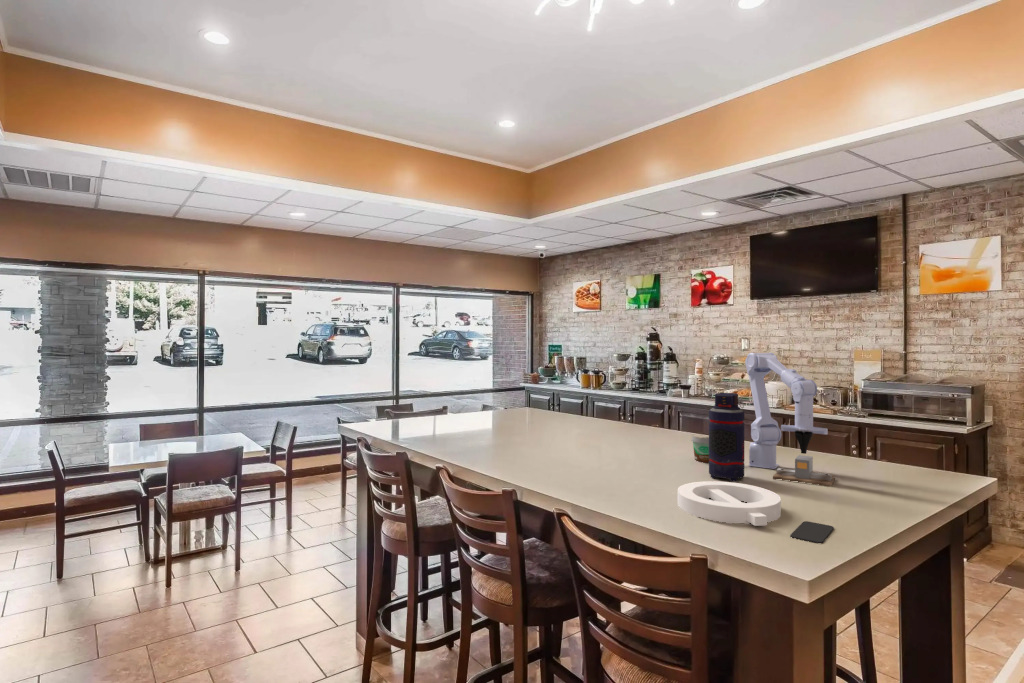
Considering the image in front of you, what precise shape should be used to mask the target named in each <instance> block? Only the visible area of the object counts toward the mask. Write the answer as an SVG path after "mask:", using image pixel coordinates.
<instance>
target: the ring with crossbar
mask: <svg viewBox="0 0 1024 683" xmlns="http://www.w3.org/2000/svg"><path fill="white" fill-rule="evenodd" d="M709 498H711V499H709ZM781 498H782V497H780V495H779V494H777V492H776V493H775V492H774V491H772V490H769V489H766V488H763V487H760V486H756V485H752V484H746V483H741V482H740V483H738V482H733V481H730V482H729V481H714V480H712V481H705V480H704V481H695V482H693V481H692V482H688V483H685V484H681V485H680V486H678V488H677V507H678V506H679V507H680V508H681V509H682V510H684V511H686V512H687V513H690V514H692V515H695V516H697V517H696V518H698V517H701V518H700V519H702V518H704V519H703V520H706V519H709V520H708V521H710V520H713V521H712V522H716V521H719V522H718V523H722V522H726V523H725V524H732V523H747V524H746V525H749V524H748V523H751V524H750V525H753V526H756V527H757V526H758V527H760V526H768V523H772V522H774V520H775V521H777V520H779V519H780V518H781V513H782V511H781V509H782V507H781V506H782V505H781V504H782V502H781V501H782V499H781ZM741 501H744V502H741ZM745 502H747V503H745ZM679 507H678V508H679ZM680 508H679V509H680ZM681 509H680V510H681ZM682 510H681V511H682ZM684 511H683V512H684ZM687 513H686V514H687ZM690 514H689V515H690ZM692 515H691V516H692ZM695 516H694V517H695ZM779 517H780V518H779ZM778 518H779V519H778ZM771 521H772V522H771ZM767 522H768V523H767Z"/></svg>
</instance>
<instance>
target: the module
mask: <svg viewBox="0 0 1024 683" xmlns="http://www.w3.org/2000/svg"><path fill="white" fill-rule="evenodd" d="M813 459H814V458H813V456H809V455H803V454H802V455H801V454H798V455H797V456H796V457H795V459H794V470H795V478H802V479H810V474H811V472H814V471H813V470H814V469H813V468H814V467H813V466H814V464H813V463H814V460H813Z"/></svg>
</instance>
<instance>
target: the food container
mask: <svg viewBox="0 0 1024 683" xmlns="http://www.w3.org/2000/svg"><path fill="white" fill-rule="evenodd" d="M690 441H691V442H692V448H693V454H694V461H695V460H696V462H697V461H698V462H697V463H702V462H703V464H709V460H710V459H709V436H708V437H707V436H705V437H699V436H698V437H697V436H694V435H691V438H690Z"/></svg>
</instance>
